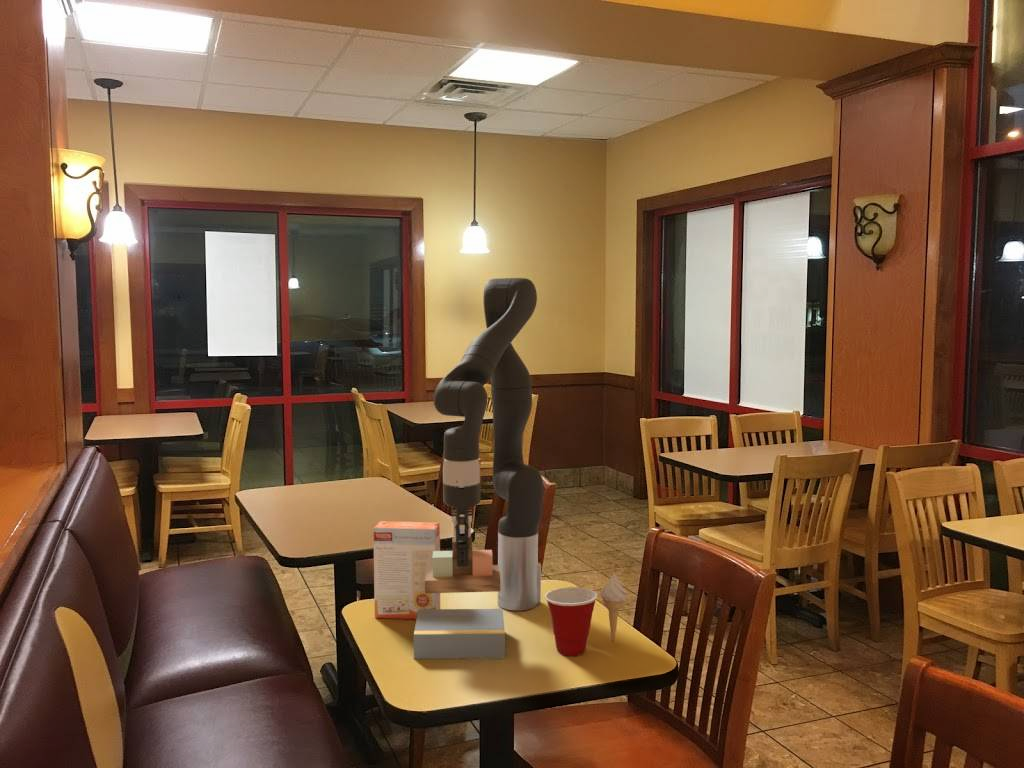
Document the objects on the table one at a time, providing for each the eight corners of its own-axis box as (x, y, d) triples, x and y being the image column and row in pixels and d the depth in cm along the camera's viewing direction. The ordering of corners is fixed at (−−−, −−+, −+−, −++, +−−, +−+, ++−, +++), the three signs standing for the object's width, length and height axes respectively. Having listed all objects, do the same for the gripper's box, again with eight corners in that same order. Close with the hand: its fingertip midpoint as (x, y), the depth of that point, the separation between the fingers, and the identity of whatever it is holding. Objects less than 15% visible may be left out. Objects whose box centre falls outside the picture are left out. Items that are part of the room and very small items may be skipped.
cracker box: (441, 611, 190) (441, 521, 187) (436, 621, 184) (435, 529, 181) (380, 608, 191) (379, 519, 189) (373, 618, 185) (372, 526, 183)
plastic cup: (567, 634, 178) (568, 579, 176) (607, 650, 170) (609, 593, 169) (532, 649, 170) (533, 592, 169) (572, 666, 163) (573, 607, 161)
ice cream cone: (607, 648, 171) (609, 578, 169) (594, 638, 176) (596, 569, 174) (631, 644, 173) (633, 574, 171) (617, 633, 178) (619, 566, 176)
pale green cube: (453, 569, 171) (452, 550, 171) (452, 576, 167) (452, 557, 167) (433, 569, 171) (433, 551, 171) (432, 576, 167) (432, 557, 167)
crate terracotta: (491, 568, 172) (491, 549, 171) (492, 575, 168) (492, 556, 167) (472, 568, 172) (472, 550, 171) (472, 575, 168) (472, 556, 167)
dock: (502, 631, 179) (502, 608, 178) (504, 658, 166) (504, 633, 166) (418, 631, 178) (418, 609, 178) (413, 658, 165) (413, 634, 165)
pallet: (498, 577, 174) (498, 532, 173) (500, 591, 166) (500, 544, 165) (426, 579, 173) (425, 534, 172) (424, 593, 166) (424, 546, 164)
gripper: (443, 472, 174) (444, 552, 176) (441, 489, 160) (443, 576, 162) (479, 471, 174) (480, 551, 176) (481, 488, 160) (481, 575, 163)
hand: (462, 562), depth 169 cm, fingers closed on pallet, 3 cm apart
